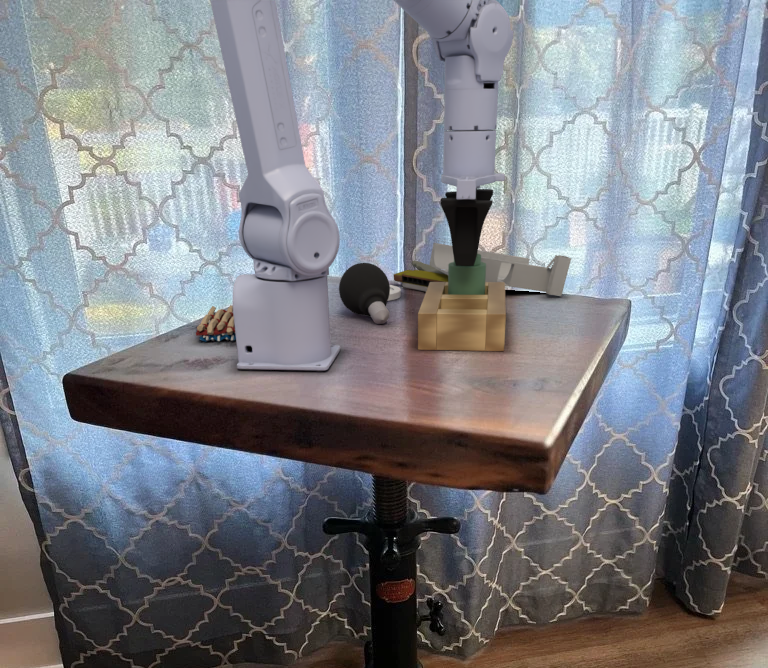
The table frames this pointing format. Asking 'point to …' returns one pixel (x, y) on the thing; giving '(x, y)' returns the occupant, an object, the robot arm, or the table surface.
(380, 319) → the light bulb
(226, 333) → the woven mat
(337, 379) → the table surface
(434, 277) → the harmonica
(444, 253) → the skate ramp
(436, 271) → the stone
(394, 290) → the pendant
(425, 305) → the hole block
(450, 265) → the bottle
